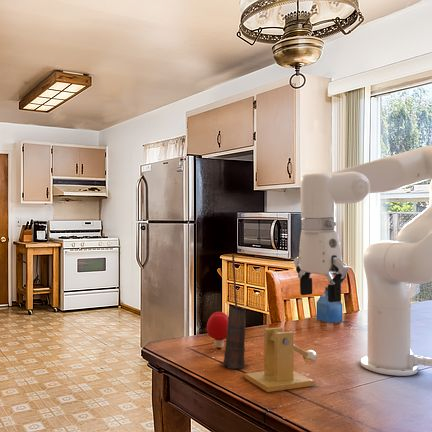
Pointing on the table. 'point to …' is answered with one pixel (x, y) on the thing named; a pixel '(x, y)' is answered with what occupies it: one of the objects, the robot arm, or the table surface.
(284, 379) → the bracket
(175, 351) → the table surface
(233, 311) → the butter churn
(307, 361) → the switch lever
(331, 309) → the perfume bottle
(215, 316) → the red rounded lump
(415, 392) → the table surface
